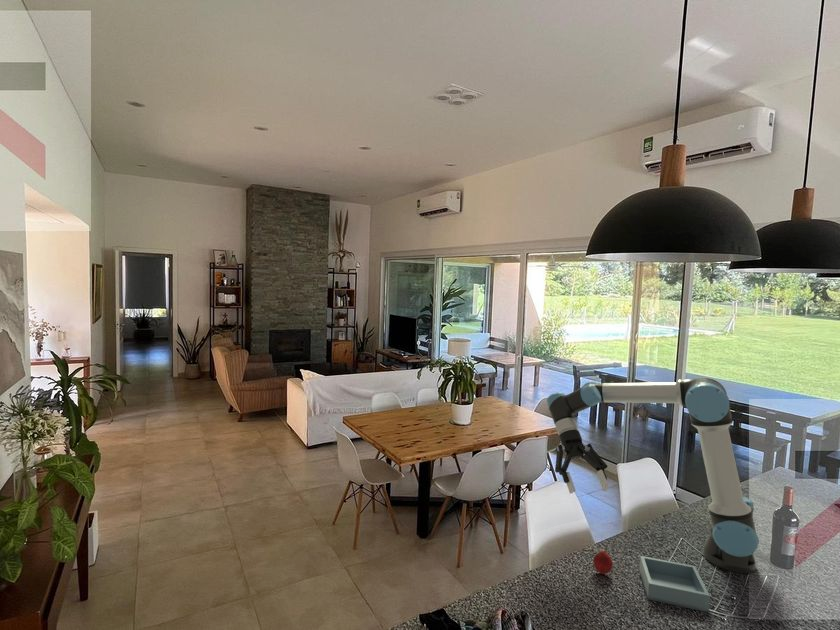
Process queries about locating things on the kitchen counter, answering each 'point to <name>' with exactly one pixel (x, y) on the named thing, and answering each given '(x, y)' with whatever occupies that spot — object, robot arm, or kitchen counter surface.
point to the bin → (673, 583)
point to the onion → (602, 562)
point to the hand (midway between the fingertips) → (589, 491)
